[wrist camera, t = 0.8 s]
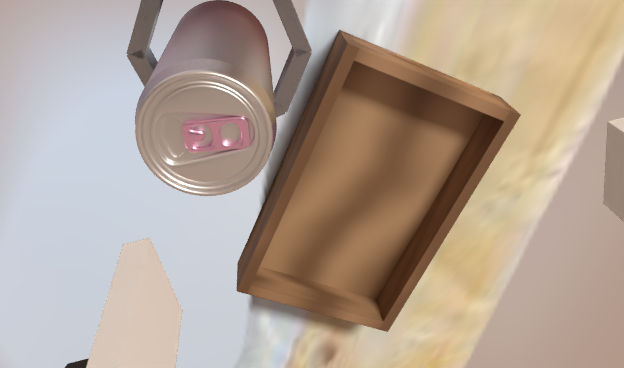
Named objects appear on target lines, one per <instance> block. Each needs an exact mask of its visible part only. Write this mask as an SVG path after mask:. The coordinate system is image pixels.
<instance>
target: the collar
mask: <svg viewBox="0 0 624 368" xmlns="http://www.w3.org/2000/svg"><path fill="white" fill-rule="evenodd" d="M162 2H163V0H142V1H141V4H140V8H139V12H138V15H137V18H136V22H135V26H134V29H133V33H132V37H131V40H130V44H129V47H128V51H127V54H128V55H127V57H128V59H129V60H130V62H131V64H132V66H133V67H134V69H135V71H136V72H137V74H138V76H139V78H140V79H141V81H142V83H143V85H144V86H146V84H147V82H148V81H149V79H150V77H151V75H152V73H153V71H154V69H155V67H156V65H157V63H158V62H157V61H156V58H155V57H154V55H153V53H152V51H151V49H150V48H149V46H150V42H151V39H152V36H153V32H154V29H155V26H156V22H157V19H158V15H159V12H160V9H161V5H162ZM273 2H274V4H275V6H276V9H277V11H278V14H279V16H280V18H281V21H282V23H283V25H284V27H285V30H286V32H287V35H288V37H289V40H290V42H291V44H292V49H291V51H290V54H289V56H288V59H287V61H286V64H285V66H284V69H283V71H282V74H281V76H280V79H279V81H278V83H277V86H276V88H275V91H274V93H273V95H274V104H275V113H276V117H278V116H281V115H283V114H285V112H287V110H288V108H289V105H290V103H291V101H292V98H293V96H294V94H295V91H296V89H297V87H298V84H299V82H300V79H301V77H302V75H303V72H304V70H305V68H306V65H307V63H308V61H309V58H310V56H311V54H312V53H311V48H310V45H309V43H308V40H307V38H306V35H305V33H304V30H303V28H302V25H301V23H300V20H299V18H298V15H297V13H296V11H295V8H294V6H293V3H292V1H291V0H273Z"/></svg>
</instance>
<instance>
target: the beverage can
mask: <svg viewBox="0 0 624 368" xmlns="http://www.w3.org/2000/svg"><path fill="white" fill-rule="evenodd" d="M135 124H136V140H137V145H138V149H139V151H140V154H141V156H142V158H143V160H144V162H145V163H146V165H147V166H148V167H149V169H150V170H151V171H152V172H153V173H154V174H155V175H156V176H157V177H158V178H159V179H161V180H162V181H163V182H164V183H166V184H168V185H169V186H171V187H173V188H175V189H177V190H179V191H182V192H185V193H189V194H193V195H200V196H215V195H222V194H226V193H229V192H232V191H235V190H237V189H239V188H241V187H243V186H245V185H246V184H248V183H249V182H250V181H252V180H253V179H254V178H255V177H256V176H257V175H258V174H259V173H260V171H261V170H262V169H263V167H264V166H265V164H266V162H267V160H268V158H269V155H270V152H271V150H272V148H273V145H274V142H275V137H276V127H277V125H276V113H275V104H274V95H273V86H272V76H271V66H270V57H269V48H268V41H267V36H266V33H265V31H264V29H263V27H262V25H261V24H260V22H259V20H258V19H257V18H256V17H255V16H254V15H253V14H252V13H251V12H250V11H248V10H247V9H246V8H244V7H242V6H241V5H238V4H236V3H233V2H229V1H222V0H214V1H208V2H204V3H202V4H199V5H197V6H195V7H194V8H192V9H191V10H189V11H188V12H187V13H186V14H185V15H184V16H183V18H182V19H181V20H180V22H179V24H178V26H177V28H176V29H175V31H174V33H173V35H172V37H171V39H170V41H169V43H168V45H167V47H166V48H165V50H164V52H163V54H162V56H161V58H160V60H159V62H158V63H157V65H156V67H155V69H154V71H153V73H152V75H151V77H150V79H149V81H148V82H147V84H146V86H145V88H144V90H143V92H142V94H141V96H140V98H139V101H138V104H137V109H136V116H135Z"/></svg>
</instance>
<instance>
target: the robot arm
mask: <svg viewBox="0 0 624 368" xmlns="http://www.w3.org/2000/svg"><path fill="white" fill-rule="evenodd" d="M603 203H604V204H605V205H606V206H607V207H608V208H609V209H610V210H611V211H613V212H614V213H615V214H616V215H617V216H618V217H619V218H620V219H621V220H622V221H624V118H620V119H616V120H612V121H608V124H607V143H606V162H605V183H604V201H603ZM181 318H182V308H181V306H180V304H179V301H178V299H177V297H176V295H175V293H174V290H173V288H172V286H171V284H170V282H169V279H168V277H167V275H166V273H165V271H164V268H163V266H162V264H161V262H160V260H159V257H158V255H157V253H156V251H155V248H154V246H153V244H152V242H151V239H150V238H147V239H143V240H139V241H135V242H131V243H127V244H124V245H123V247H122V250H121V253H120V256H119V260H118V263H117V267H116V270H115V273H114V276H113V280H112V283H111V286H110V290H109V293H108V296H107V300H106V303H105V306H104V310H103V313H102V317H101V320H100V323H99V326H98V330H97V333H96V336H95V340H94V343H93V346H92V350H91V353H90V356H89V359H85V360H81V361H78V362H73V363H69V364H67V366H66V367H65V368H175V367H176V359H177V351H178V343H179V334H180V326H181Z"/></svg>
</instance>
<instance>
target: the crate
mask: <svg viewBox="0 0 624 368" xmlns="http://www.w3.org/2000/svg"><path fill="white" fill-rule="evenodd" d="M520 115H521V114H519V113H518V112H517V111H516V110H515V109H514V108H512V107H511V106H510V105H509V104H508V103H506V102H505V101H504V100H503V99H502V98H501V97H499V96H496V95H494V94H492V93H489V92H487V91H484V90H482V89H480V88H477V87H475V86H472V85H470V84H468V83H465V82H463V81H461V80H458V79H456V78H453V77H451V76H449V75H446V74H444V73H441V72H439V71H437V70H434V69H432V68H429V67H427V66H425V65H422V64H420V63H417V62H415V61H413V60H410V59H408V58H405V57H403V56H401V55H398V54H396V53H394V52H391V51H389V50H386V49H384V48H382V47H379V46H377V45H374V44H372V43H370V42H367V41H365V40H362V39H360V38H358V37H355V36H353V35H350V34H348V33H346V32H343V31H341V30H339V33H338V35H337V37H336V39H335V42H334V44H333V46H332V49H331V51H330V53H329V55H328V58H327V60H326V62H325V65H324V67H323V69H322V71H321V74H320V76H319V78H318V81H317V83H316V85H315V87H314V90H313V92H312V94H311V97H310V99H309V101H308V104H307V106H306V108H305V110H304V113H303V115H302V117H301V120H300V122H299V124H298V126H297V129H296V131H295V133H294V136H293V138H292V140H291V142H290V145H289V147H288V149H287V152H286V154H285V156H284V158H283V161H282V163H281V165H280V168H279V170H278V172H277V174H276V177H275V179H274V181H273V184H272V186H271V188H270V190H269V193H268V195H267V197H266V200H265V202H264V204H263V206H262V209H261V211H260V213H259V216H258V218H257V220H256V222H255V225H254V227H253V229H252V232H251V234H250V236H249V239H248V241H247V243H246V245H245V248H244V250H243V252H242V255H241V257H240V259H239V261H238V271H237V291H238V292H242V293H246V294H249V295H253V296H256V297H260V298H264V299H268V300H271V301H275V302H279V303H283V304H286V305H290V306H294V307H297V308H301V309H305V310H309V311H312V312H316V313H320V314H323V315H327V316H331V317H335V318H338V319H342V320H346V321H350V322H353V323H357V324H361V325H364V326H368V327H372V328H376V329H379V330H383V331H387V332H388V330H389V329H390V327H391V326H392V324H393V322H394V321H395V319H396V317H397V316H398V314H399V313H400V311H401V309H402V308H403V306H404V304H405V303H406V301H407V299H408V298H409V296H410V295H411V293H412V291H413V290H414V288H415V286H416V285H417V283H418V282H419V280H420V278H421V277H422V275H423V273H424V272H425V270H426V269H427V267H428V265H429V264H430V262H431V260H432V259H433V257H434V256H435V254H436V252H437V251H438V249H439V247H440V246H441V244H442V242H443V241H444V239H445V238H446V236H447V234H448V233H449V231H450V229H451V228H452V226H453V225H454V223H455V221H456V220H457V218H458V216H459V215H460V213H461V212H462V210H463V208H464V207H465V205H466V203H467V202H468V200H469V198H470V197H471V195H472V194H473V192H474V190H475V189H476V187H477V185H478V184H479V182H480V181H481V179H482V177H483V176H484V174H485V172H486V171H487V169H488V168H489V166H490V164H491V163H492V161H493V159H494V158H495V156H496V155H497V153H498V151H499V150H500V148H501V146H502V145H503V143H504V141H505V140H506V138H507V137H508V135H509V133H510V132H511V130H512V128H513V127H514V125H515V124H516V122H517V120H518V119H519V117H520Z"/></svg>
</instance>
